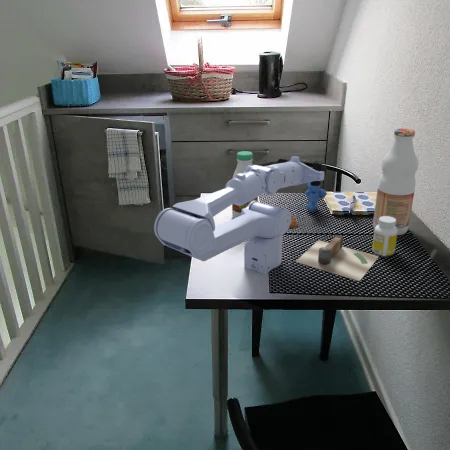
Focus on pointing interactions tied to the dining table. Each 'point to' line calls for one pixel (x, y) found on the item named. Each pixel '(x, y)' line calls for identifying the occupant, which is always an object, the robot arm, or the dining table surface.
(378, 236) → the supplement bottle
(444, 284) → the dining table surface
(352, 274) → the dial board
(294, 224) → the pastry
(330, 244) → the pointer lever
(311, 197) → the grapes
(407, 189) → the fruit juice
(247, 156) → the milk bottle
